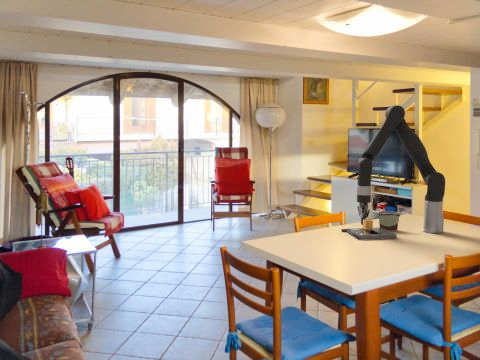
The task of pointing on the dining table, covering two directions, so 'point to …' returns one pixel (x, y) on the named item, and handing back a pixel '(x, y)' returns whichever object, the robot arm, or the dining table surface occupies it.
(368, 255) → the dining table surface
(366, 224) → the lever
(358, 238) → the cord
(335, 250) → the dining table surface
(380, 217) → the food container
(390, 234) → the panel
